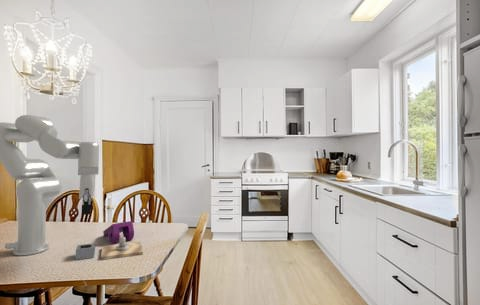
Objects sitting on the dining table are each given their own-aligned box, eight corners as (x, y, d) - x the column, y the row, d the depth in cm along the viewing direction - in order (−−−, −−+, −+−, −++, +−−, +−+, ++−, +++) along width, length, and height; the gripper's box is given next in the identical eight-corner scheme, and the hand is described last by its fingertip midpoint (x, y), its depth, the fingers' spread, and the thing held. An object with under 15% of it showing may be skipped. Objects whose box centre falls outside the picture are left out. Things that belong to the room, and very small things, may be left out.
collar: (75, 259, 107) (75, 249, 107) (77, 254, 113) (77, 245, 113) (93, 257, 110) (93, 247, 110) (94, 252, 115) (95, 243, 116)
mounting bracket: (102, 249, 136) (115, 241, 125) (100, 233, 139) (112, 224, 127) (121, 245, 143) (135, 237, 131) (119, 229, 145) (132, 220, 134)
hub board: (100, 259, 107) (101, 244, 108) (102, 248, 120) (102, 235, 120) (142, 254, 114) (143, 240, 114) (140, 244, 127) (140, 231, 127)
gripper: (80, 170, 118) (79, 208, 118) (75, 172, 103) (74, 217, 102) (99, 170, 121) (98, 207, 121) (97, 172, 106) (96, 215, 106)
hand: (87, 212), depth 112 cm, fingers open, 9 cm apart
